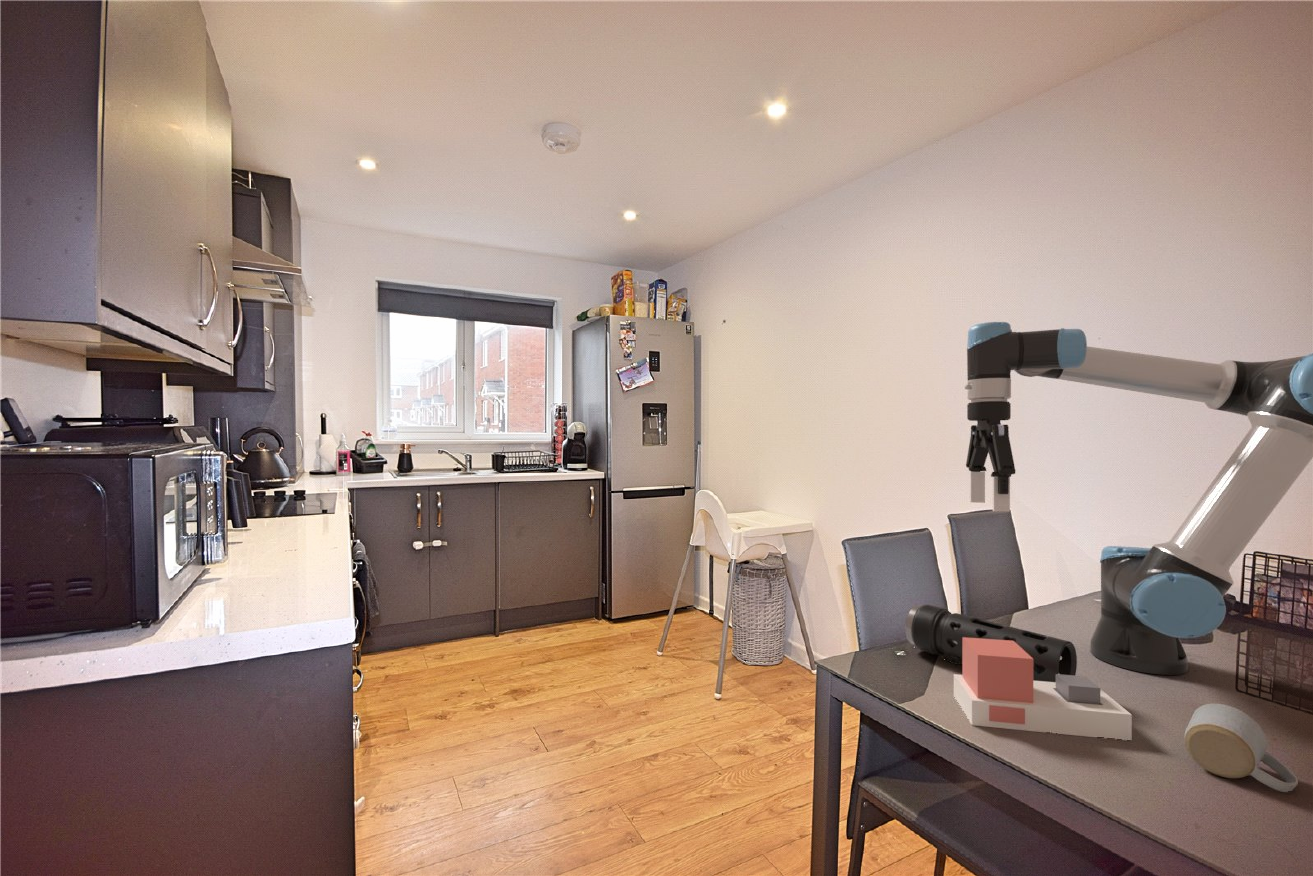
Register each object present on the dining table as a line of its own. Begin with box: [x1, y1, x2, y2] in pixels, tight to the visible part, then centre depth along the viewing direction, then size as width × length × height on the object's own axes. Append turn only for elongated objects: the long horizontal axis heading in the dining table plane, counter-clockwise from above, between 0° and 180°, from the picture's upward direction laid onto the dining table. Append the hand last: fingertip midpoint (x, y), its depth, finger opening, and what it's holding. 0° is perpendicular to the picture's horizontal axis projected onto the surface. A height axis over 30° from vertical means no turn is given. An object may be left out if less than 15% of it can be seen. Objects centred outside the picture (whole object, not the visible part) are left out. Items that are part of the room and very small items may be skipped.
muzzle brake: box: [904, 604, 1078, 682], centre depth 111 cm, size 10×28×10 cm, turn 36°
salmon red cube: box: [961, 637, 1033, 703], centre depth 94 cm, size 8×8×7 cm
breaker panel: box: [953, 673, 1133, 741], centre depth 93 cm, size 22×10×4 cm, turn 77°
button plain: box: [1056, 673, 1101, 705], centre depth 92 cm, size 4×4×4 cm
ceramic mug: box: [1183, 702, 1299, 793], centre depth 78 cm, size 11×8×8 cm
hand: (988, 506), depth 114 cm, fingers open, 13 cm apart
